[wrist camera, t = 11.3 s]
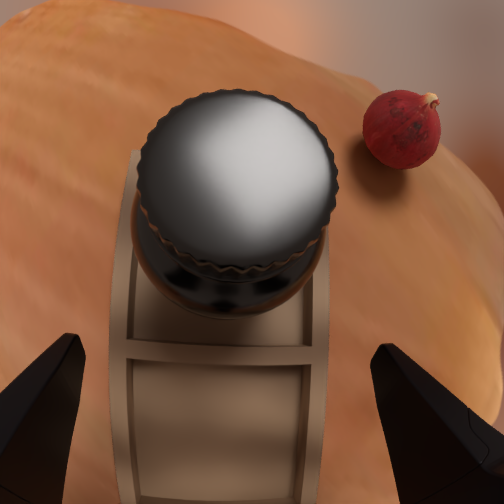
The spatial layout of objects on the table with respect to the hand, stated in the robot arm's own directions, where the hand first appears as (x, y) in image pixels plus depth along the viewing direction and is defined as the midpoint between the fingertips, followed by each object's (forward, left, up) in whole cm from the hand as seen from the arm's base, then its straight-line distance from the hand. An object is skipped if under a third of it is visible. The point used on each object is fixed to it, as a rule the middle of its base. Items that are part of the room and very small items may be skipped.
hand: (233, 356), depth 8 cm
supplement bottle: (+4, 0, -10) cm, 11 cm away
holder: (-1, 0, -10) cm, 10 cm away
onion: (+14, -12, -10) cm, 21 cm away
